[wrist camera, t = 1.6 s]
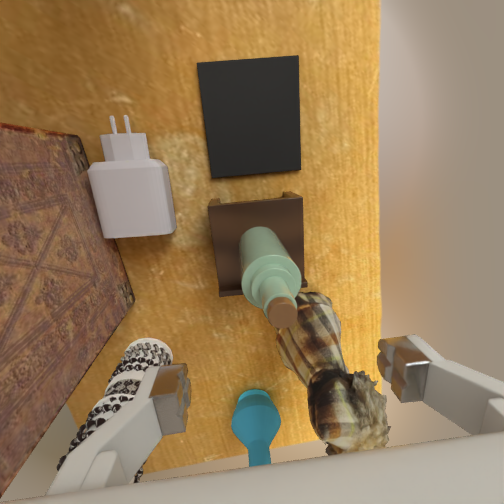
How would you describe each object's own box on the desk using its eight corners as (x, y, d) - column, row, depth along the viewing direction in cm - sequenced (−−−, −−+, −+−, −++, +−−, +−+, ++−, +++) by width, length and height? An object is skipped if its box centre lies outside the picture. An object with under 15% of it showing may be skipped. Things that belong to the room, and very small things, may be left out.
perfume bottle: (266, 377, 50) (280, 461, 36) (283, 408, 53) (302, 497, 39) (223, 394, 51) (220, 483, 37) (242, 424, 54) (246, 517, 40)
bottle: (236, 228, 33) (240, 285, 18) (279, 224, 33) (321, 276, 18) (240, 268, 35) (248, 352, 19) (281, 264, 35) (320, 343, 20)
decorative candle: (124, 376, 48) (20, 585, 24) (121, 334, 45) (-2, 525, 21) (174, 377, 49) (122, 579, 25) (175, 336, 46) (115, 520, 22)
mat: (197, 64, 33) (196, 62, 32) (297, 56, 34) (298, 55, 33) (212, 177, 38) (211, 178, 37) (300, 169, 38) (301, 169, 38)
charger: (161, 117, 35) (177, 226, 39) (90, 120, 34) (116, 230, 39) (151, 110, 30) (171, 234, 35) (69, 113, 30) (101, 239, 34)
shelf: (211, 198, 39) (206, 208, 31) (290, 191, 39) (306, 198, 31) (221, 272, 42) (219, 297, 35) (293, 264, 43) (307, 287, 35)
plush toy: (341, 263, 42) (401, 410, 20) (355, 327, 47) (417, 503, 25) (260, 281, 46) (234, 424, 23) (281, 339, 51) (276, 503, 28)
